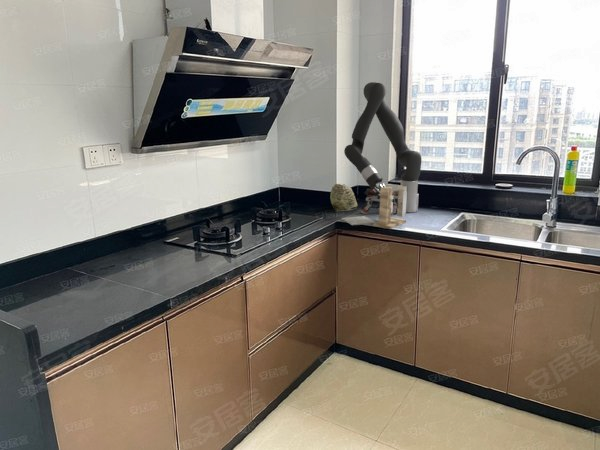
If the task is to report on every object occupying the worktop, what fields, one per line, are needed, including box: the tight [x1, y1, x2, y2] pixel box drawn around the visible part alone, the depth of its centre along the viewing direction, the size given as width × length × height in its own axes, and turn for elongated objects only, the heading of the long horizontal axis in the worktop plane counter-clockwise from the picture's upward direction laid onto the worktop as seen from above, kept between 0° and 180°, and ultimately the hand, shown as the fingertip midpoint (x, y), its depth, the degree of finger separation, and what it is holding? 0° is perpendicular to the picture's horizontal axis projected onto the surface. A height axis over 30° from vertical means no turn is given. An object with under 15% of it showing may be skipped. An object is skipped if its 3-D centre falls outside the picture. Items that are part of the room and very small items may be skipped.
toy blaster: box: [359, 187, 398, 215], centre depth 240 cm, size 4×21×15 cm, turn 89°
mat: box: [341, 215, 376, 226], centre depth 225 cm, size 13×13×1 cm
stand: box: [372, 187, 407, 230], centre depth 217 cm, size 17×9×19 cm, turn 141°
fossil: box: [329, 183, 358, 212], centre depth 250 cm, size 9×18×15 cm, turn 137°
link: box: [385, 183, 407, 218], centre depth 220 cm, size 10×4×15 cm, turn 51°
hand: (391, 202), depth 222 cm, fingers closed on link, 3 cm apart
